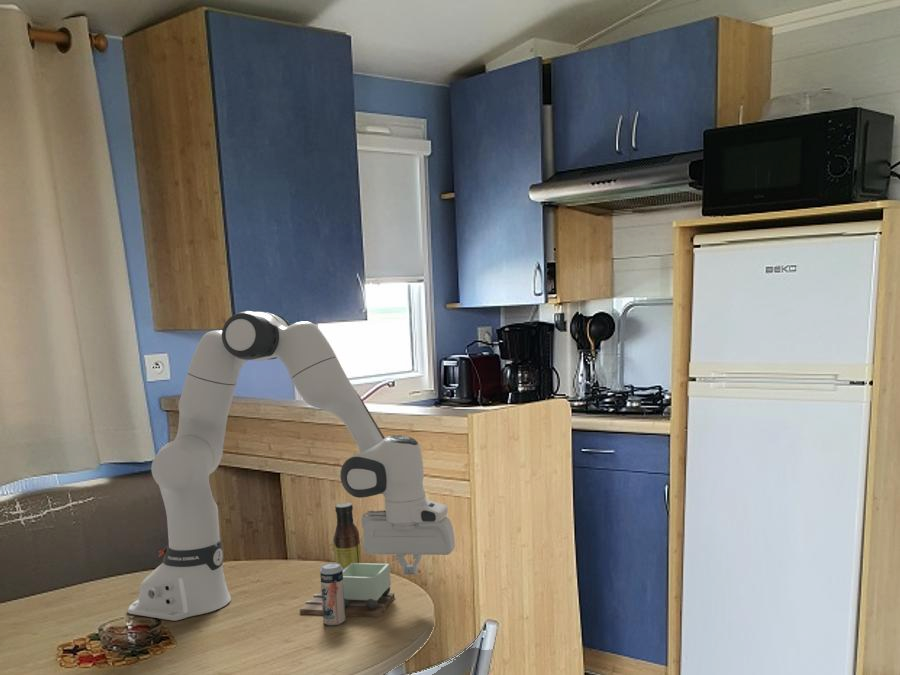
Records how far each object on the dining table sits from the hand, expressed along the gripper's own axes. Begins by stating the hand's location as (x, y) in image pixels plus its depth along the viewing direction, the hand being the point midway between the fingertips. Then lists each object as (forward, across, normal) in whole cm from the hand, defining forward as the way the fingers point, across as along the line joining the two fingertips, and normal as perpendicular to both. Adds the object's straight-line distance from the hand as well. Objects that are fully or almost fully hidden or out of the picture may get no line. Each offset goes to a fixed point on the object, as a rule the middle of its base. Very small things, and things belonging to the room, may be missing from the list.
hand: (410, 573), depth 160 cm
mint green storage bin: (+6, -11, 0) cm, 13 cm away
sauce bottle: (+7, -19, +11) cm, 23 cm away
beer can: (+7, -14, -9) cm, 19 cm away
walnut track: (+7, -15, 0) cm, 17 cm away
